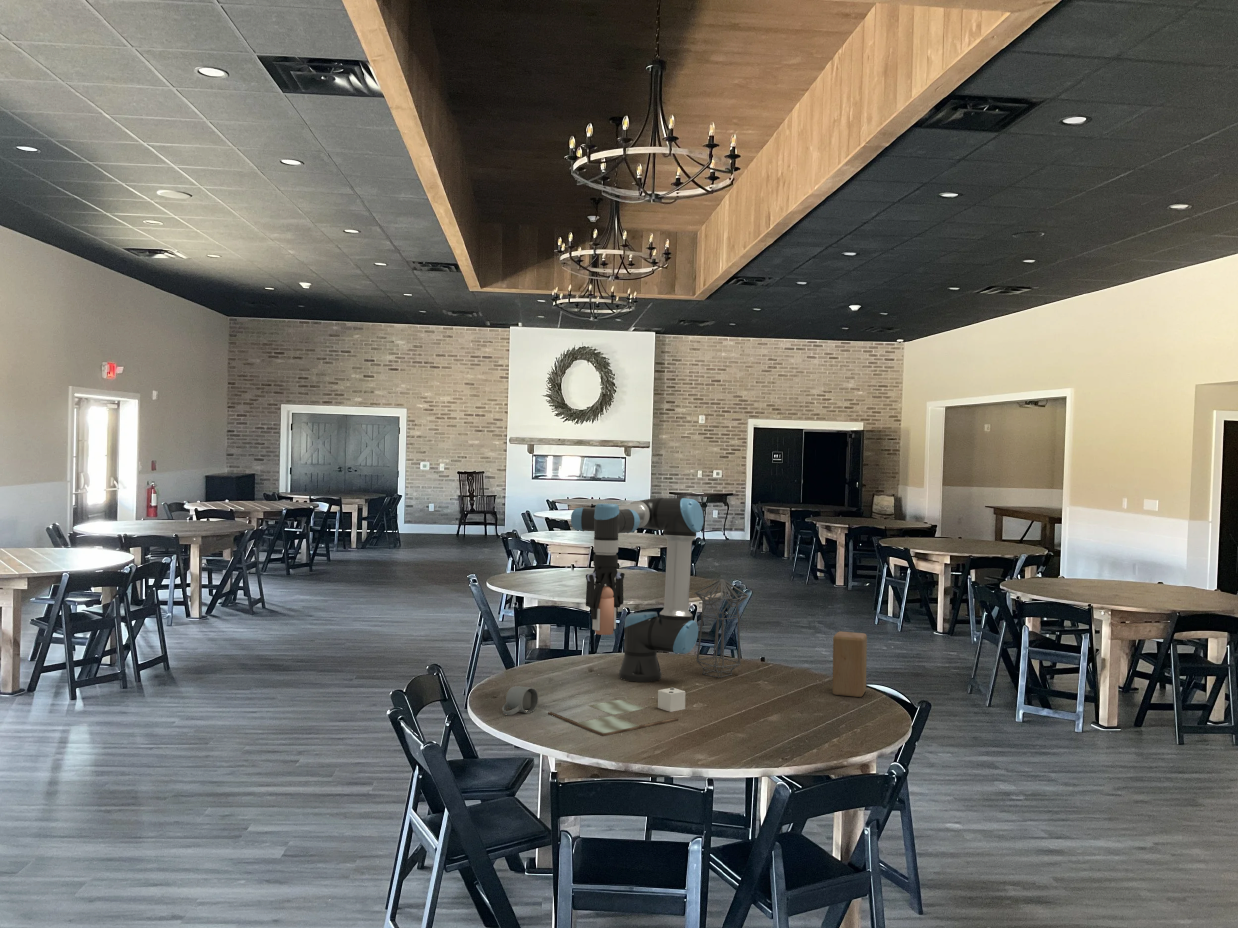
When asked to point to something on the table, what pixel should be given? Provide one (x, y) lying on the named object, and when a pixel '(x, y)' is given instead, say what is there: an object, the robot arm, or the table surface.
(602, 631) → the pawn
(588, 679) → the table surface
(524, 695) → the ceramic mug
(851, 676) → the wooden block
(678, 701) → the off-white cube
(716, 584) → the geometric lantern
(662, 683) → the table surface
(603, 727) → the game board
